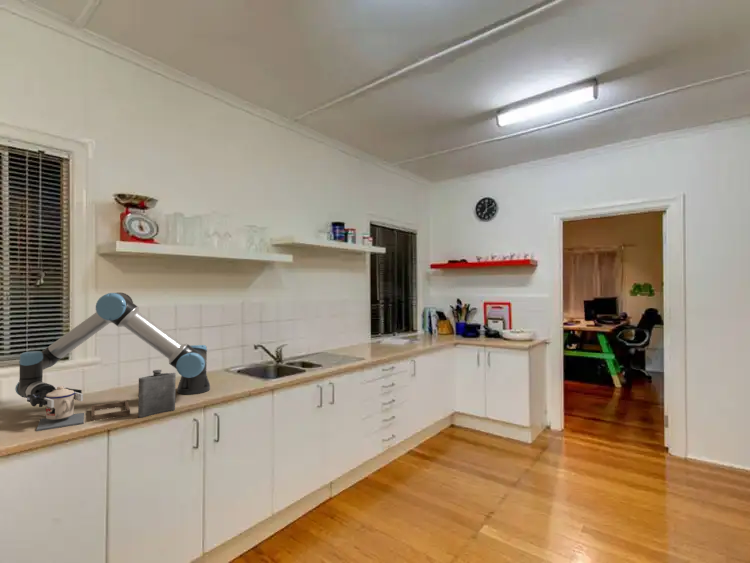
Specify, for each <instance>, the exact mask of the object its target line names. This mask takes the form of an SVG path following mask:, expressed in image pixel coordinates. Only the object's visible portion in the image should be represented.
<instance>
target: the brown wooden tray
mask: <svg viewBox="0 0 750 563" xmlns="http://www.w3.org/2000/svg"><path fill="white" fill-rule="evenodd" d="M115 407H116V408H123V407H124V409H125V410H119V411H111V412H106V413H99V414H96V413H95V412H96V411H101V410H100V409H102V410H108V409H107V408H109V409H115ZM127 415H128V416H131V410H130V405H129V402H128V400H124V401H117V402H116V401H115V402H110V403H102V404H94V405H91V422H94V420H95V421H99V420H100V419H102V420H108V419H114V418H113V417H115V418H121V417H125V416H126V417H128V416H127ZM120 416H121V417H120ZM107 418H108V419H107Z"/></svg>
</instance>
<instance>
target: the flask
mask: <svg viewBox="0 0 750 563" xmlns="http://www.w3.org/2000/svg"><path fill="white" fill-rule="evenodd" d="M152 373H153V375H148V376H142V377H138V398H137V400H138V402H137V403H138V407H137V408H138V410H137V411H138V412H137V413H138V414H137V415H138V419H141V418H142V419H143V418H146V417H150V416H153V415H158V414H163V413H167V412H174V411H176V375H177V374H176V372H169V373H168V372H165V373H164V372H163V373H162V369H153V370H152Z"/></svg>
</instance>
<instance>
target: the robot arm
mask: <svg viewBox="0 0 750 563" xmlns="http://www.w3.org/2000/svg"><path fill="white" fill-rule="evenodd" d="M95 310H96V312H95V313H93V314H92V315H91V316H88V317H87V318H86V319H84V321H82V322H81V323H79V324H77V325H76V326H75V327H73V328H72V329H70V330H69V331H68V332H66V333H65V334H64V335H63V336H61V337H60V338H59V339H57V340H55V341H54V342H53V343H51V344H50V345H49V346H47V347H46V348H45V349H43V350H42V351H41V350H31V351H25V352H21V354H20V355H19V360H18V364H19V378H18V379H19V381H18V382H17V383H16V385H15V388H14V390H15V393H16V394H17V395H19V396H20V397H22V398H24V399H26V402H28V403H30V405H31V406H32V407H37V405H38V407H39V408H43V407H44V406H45V407H46V406H48V407H51V408H53V407H54V400H52V399H49V398H46V397H45V396H46V394H48V393H50V392H52V391H54V390H56V389H57V388H56V387H55V386H54V385H52V384H50V383H47V382H43V374H44V373H43V371H44V370H46V369H48V368H51V367H53V366H55V365H56V364H57V363H58V361H60V360H61V359H62V358H64V357H65V356H66V355H68V354H70V352H72V351H74V350H75V349H76V348H77V347H80V345H82V344H83V343H84V342H86V341H87V340H88V339H90V338H92V337H93V336H94V335H96V334H98V332H99V331H101V330H102V329H104V328H105V327H106V326H108V325H109V324H111V323H112V324H113V325H115V326H117V327H118V328H119V327H121V328H122V327H123V328H125V329H127V330H128V331H130V332H131V333H133V334H134V335H135V336H136V337H138V338H139V339H141V340H142V341H144V342H145V343H146V344H148V345H149V346H150V347H151V348H153V349H154V350H155V351H157V352H159V353H160V354H162V355H163V356H164V357H165V358H166V359H168V364H169V365H171V366H172V367H173V368H174V369H176V371H177V373H178V374H179V375H180V379H179V382H178V385H177V388H176V389H177V392H176V393H177V394H181V395H196V394H197V395H198V394H202V393H206V392H208V391H210V390H211V385H210V380H209V378H208V375H207V364H208V362H207V361H208V360H207V356H208V354H207V353H208V349H207V346H206V345H205V344H198V345H197V344H196V345H194V344H193V345H190V344H188V343H181V342H180V341H179V340H177V339H176V338H174V337H173V336H172V335H170V334H169V333H168V332H167V331H165V330H164V329H162V328H161V327H160V326H158V325H157V324H156V323H155V322H154V321H152V320H150V319H149V318H148V317H146V316H145V315H143V314H142V313H141V312H140V310H139V306H138V305H137V304H135V303H134V301H133V299H132V297H131V296H130V295H128V294H127V293H124V292H108V293H105V294H104V295H102V296H101V297H99V298H98V300H97V301H96V303H95ZM65 389H68V390H73V391H74V392H75V394H74V401H79V402H83V401H84V394H83V390H82V389H76V388H69V387H65Z"/></svg>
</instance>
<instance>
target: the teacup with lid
mask: <svg viewBox="0 0 750 563" xmlns="http://www.w3.org/2000/svg"><path fill="white" fill-rule="evenodd" d="M65 388H66V387H65ZM65 388H64V386H63V385H59V386H57V388H55V389H56V390H54V391H52V392H50V393H48V394H46V396H45V397H46V398H49V399H52V400H54V407H53V408H51V407H48V406H45V418H47V419H50V420H55V419H62V418H67V417H70V416H72V415H73V414H75V411H74V410H75V399H74V394H75V392H74V391H73V390H68V389H65Z"/></svg>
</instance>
